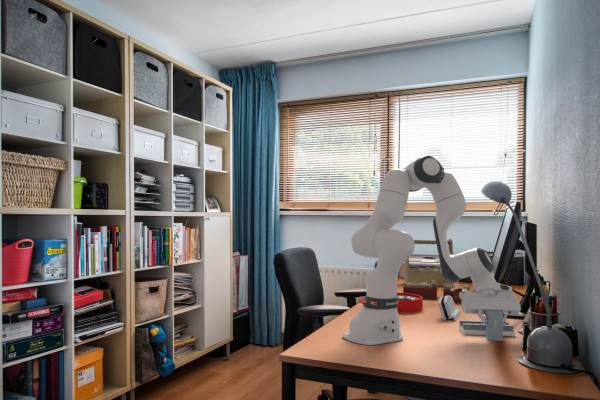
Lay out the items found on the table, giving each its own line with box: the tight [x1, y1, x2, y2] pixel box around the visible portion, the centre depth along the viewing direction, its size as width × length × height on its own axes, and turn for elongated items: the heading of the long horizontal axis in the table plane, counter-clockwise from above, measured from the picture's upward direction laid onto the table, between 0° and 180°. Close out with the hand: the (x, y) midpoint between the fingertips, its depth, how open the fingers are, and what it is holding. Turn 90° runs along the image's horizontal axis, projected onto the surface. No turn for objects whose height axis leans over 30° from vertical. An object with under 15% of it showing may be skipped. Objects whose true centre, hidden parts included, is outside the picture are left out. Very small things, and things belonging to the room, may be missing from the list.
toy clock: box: [397, 292, 424, 314], centre depth 209 cm, size 20×6×20 cm
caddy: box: [403, 238, 455, 287], centre depth 281 cm, size 29×11×30 cm, turn 87°
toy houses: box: [397, 280, 471, 305], centre depth 235 cm, size 45×20×10 cm, turn 74°
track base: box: [458, 319, 516, 337], centre depth 167 cm, size 18×8×4 cm, turn 84°
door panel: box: [485, 311, 504, 342], centre depth 157 cm, size 5×3×10 cm, turn 84°
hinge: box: [438, 295, 462, 322], centre depth 193 cm, size 17×5×10 cm, turn 152°
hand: (494, 323), depth 157 cm, fingers closed on door panel, 5 cm apart
